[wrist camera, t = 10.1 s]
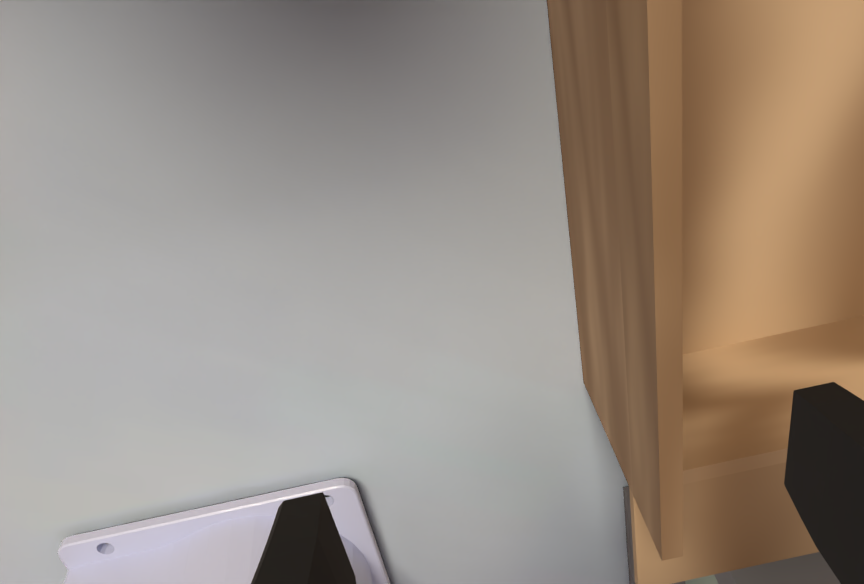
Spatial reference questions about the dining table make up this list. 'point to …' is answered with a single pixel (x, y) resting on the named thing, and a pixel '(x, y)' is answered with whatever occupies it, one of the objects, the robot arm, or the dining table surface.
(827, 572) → the capped block
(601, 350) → the wooden tray
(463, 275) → the dining table surface
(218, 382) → the dining table surface
